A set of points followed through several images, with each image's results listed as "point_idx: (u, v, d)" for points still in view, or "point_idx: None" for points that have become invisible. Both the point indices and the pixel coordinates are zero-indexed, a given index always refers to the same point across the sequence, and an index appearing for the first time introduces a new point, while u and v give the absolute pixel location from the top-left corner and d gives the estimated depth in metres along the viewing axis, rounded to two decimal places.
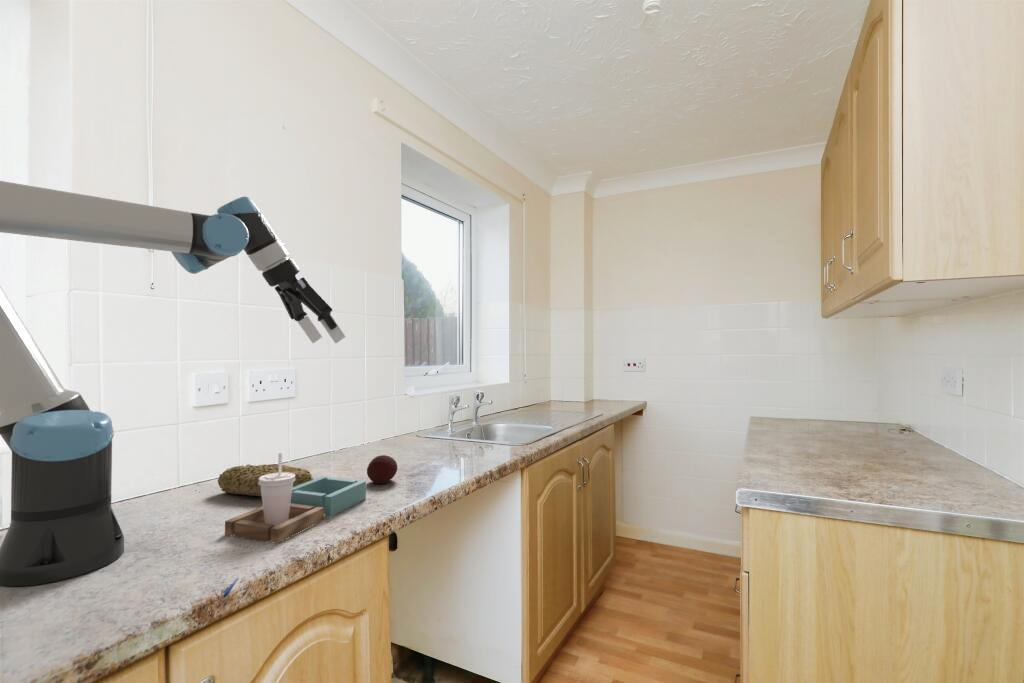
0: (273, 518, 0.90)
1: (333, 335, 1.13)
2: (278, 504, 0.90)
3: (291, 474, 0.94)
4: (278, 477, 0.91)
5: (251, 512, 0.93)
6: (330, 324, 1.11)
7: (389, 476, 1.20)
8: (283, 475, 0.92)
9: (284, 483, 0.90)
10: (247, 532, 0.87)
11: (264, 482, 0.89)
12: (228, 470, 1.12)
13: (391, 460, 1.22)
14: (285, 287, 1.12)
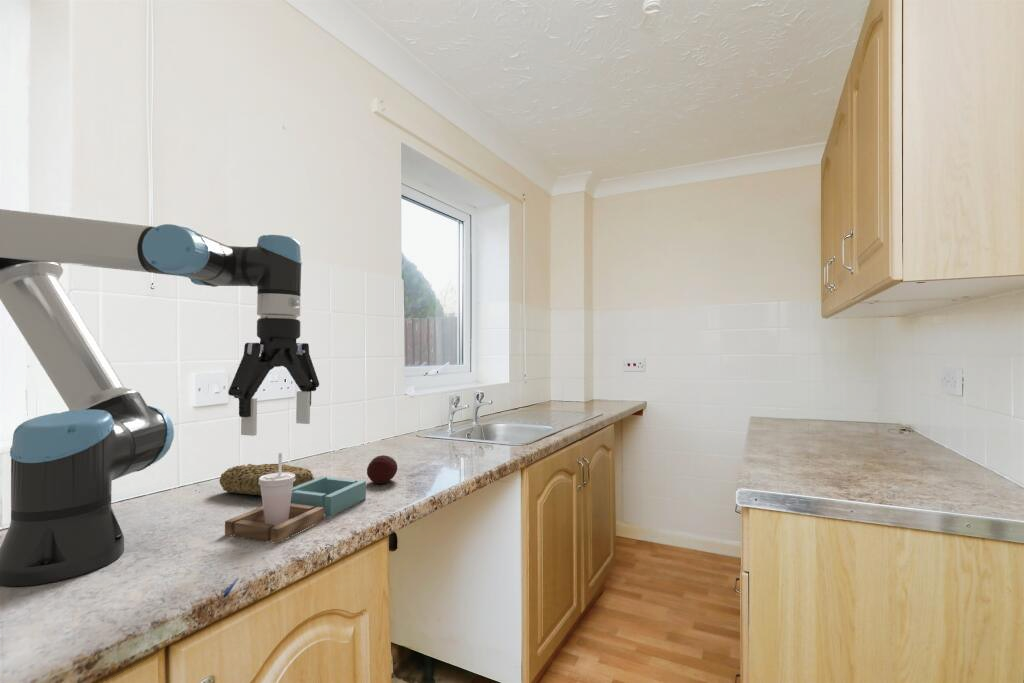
0: (273, 518, 0.90)
1: (243, 424, 0.86)
2: (278, 504, 0.90)
3: (291, 474, 0.94)
4: (278, 477, 0.91)
5: (251, 512, 0.93)
6: (240, 409, 0.85)
7: (389, 476, 1.20)
8: (283, 475, 0.92)
9: (284, 483, 0.90)
10: (247, 532, 0.87)
11: (264, 482, 0.89)
12: (230, 469, 1.13)
13: (391, 460, 1.22)
14: None
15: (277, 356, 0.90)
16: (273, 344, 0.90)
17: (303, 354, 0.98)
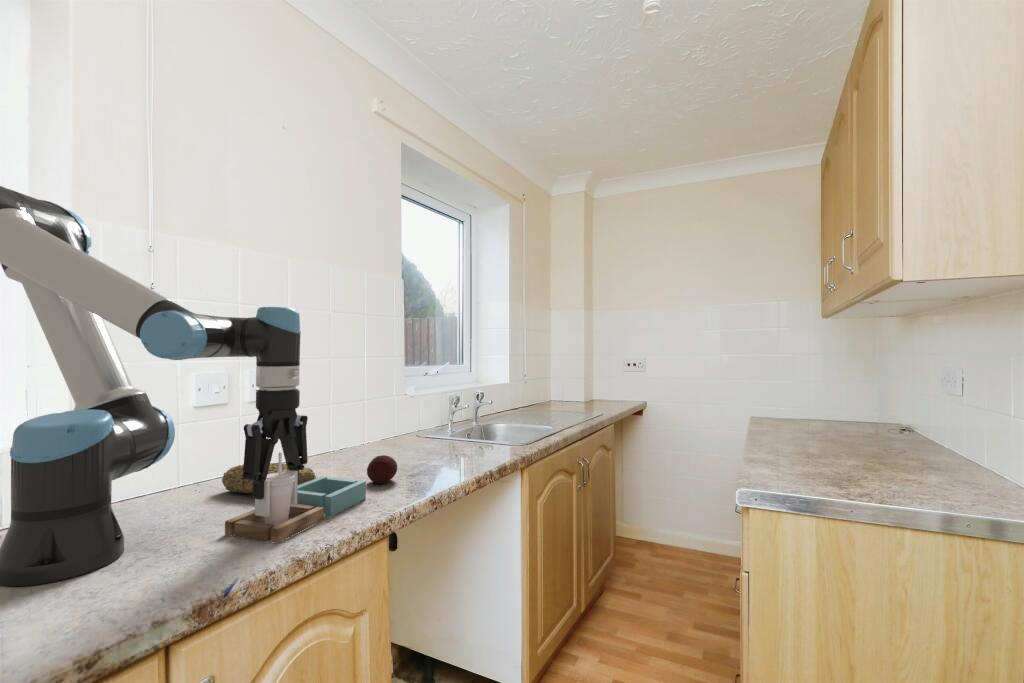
0: (273, 518, 0.90)
1: (257, 505, 0.89)
2: (278, 504, 0.90)
3: (291, 474, 0.94)
4: (278, 477, 0.91)
5: (251, 512, 0.93)
6: (253, 492, 0.88)
7: (389, 476, 1.20)
8: (283, 475, 0.92)
9: (284, 483, 0.90)
10: (247, 532, 0.87)
11: None
12: (232, 469, 1.14)
13: (391, 460, 1.22)
14: None
15: (278, 430, 0.90)
16: (271, 416, 0.89)
17: (300, 426, 0.97)
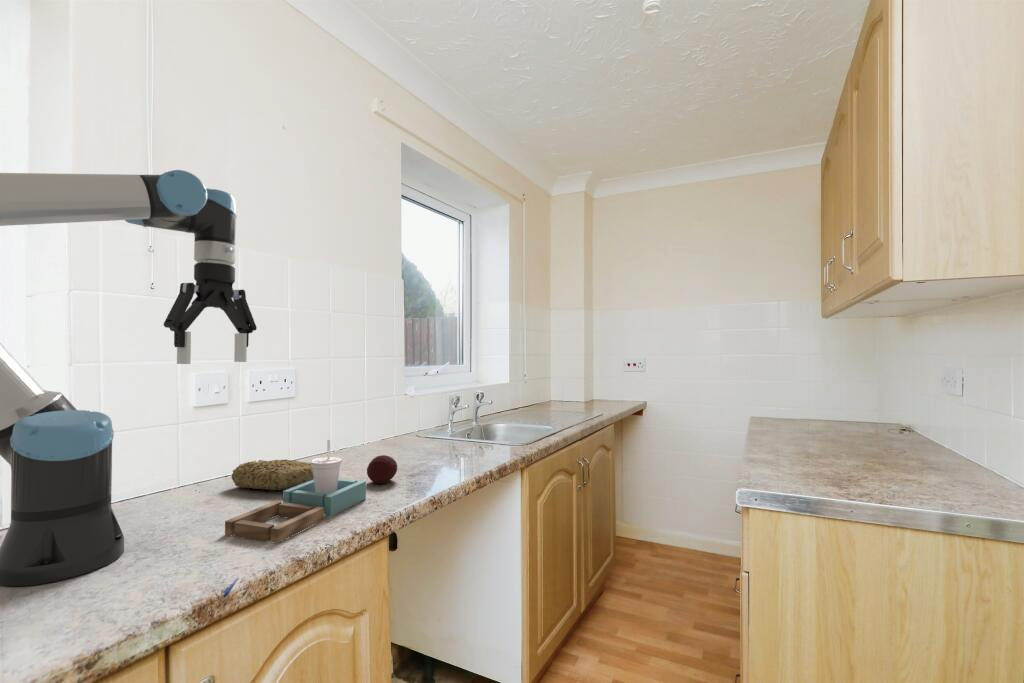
0: None
1: (179, 354, 0.97)
2: (328, 484, 1.03)
3: (338, 458, 1.07)
4: (327, 460, 1.05)
5: (251, 512, 0.93)
6: (175, 340, 0.96)
7: (389, 476, 1.20)
8: (331, 459, 1.06)
9: (333, 465, 1.03)
10: (247, 532, 0.87)
11: (316, 464, 1.03)
12: (241, 465, 1.17)
13: (391, 460, 1.22)
14: None
15: (211, 297, 1.01)
16: (208, 286, 1.01)
17: (240, 299, 1.09)
